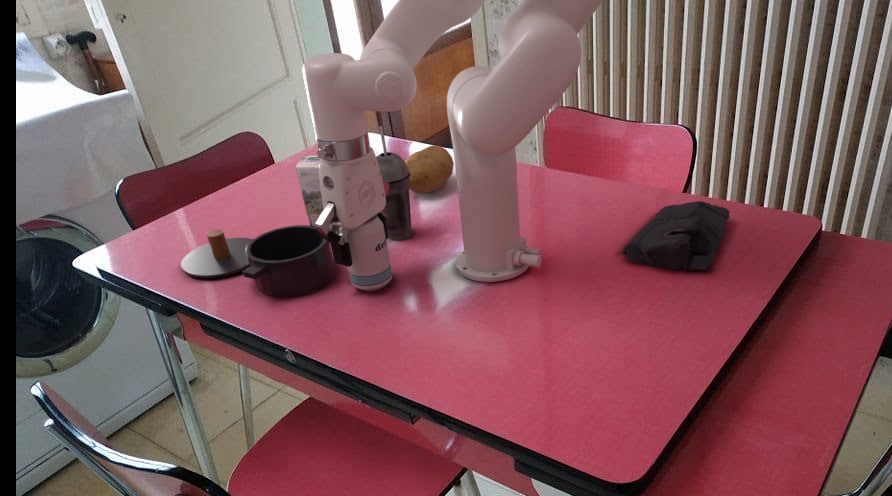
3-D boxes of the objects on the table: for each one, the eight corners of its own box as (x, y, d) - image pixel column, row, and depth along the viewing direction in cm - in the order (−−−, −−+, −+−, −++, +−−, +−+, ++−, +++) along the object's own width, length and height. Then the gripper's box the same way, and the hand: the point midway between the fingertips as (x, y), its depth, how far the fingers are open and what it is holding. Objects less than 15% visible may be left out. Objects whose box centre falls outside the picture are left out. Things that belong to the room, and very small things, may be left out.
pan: (360, 259, 122) (353, 225, 118) (289, 312, 109) (279, 276, 105) (302, 247, 128) (293, 214, 124) (228, 297, 115) (216, 261, 111)
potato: (390, 199, 143) (384, 162, 138) (427, 175, 152) (423, 139, 148) (429, 206, 139) (424, 168, 134) (465, 180, 148) (461, 144, 143)
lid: (281, 249, 127) (273, 222, 124) (224, 287, 117) (213, 258, 114) (224, 237, 133) (215, 211, 130) (165, 272, 123) (154, 244, 120)
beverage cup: (382, 246, 126) (362, 138, 114) (377, 230, 131) (358, 125, 119) (422, 239, 127) (406, 131, 115) (415, 223, 133) (399, 118, 121)
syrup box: (350, 226, 134) (334, 153, 125) (341, 240, 129) (325, 165, 120) (321, 226, 134) (304, 154, 126) (312, 240, 130) (293, 166, 121)
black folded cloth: (742, 222, 124) (746, 197, 121) (705, 278, 109) (709, 251, 106) (660, 208, 130) (662, 185, 128) (615, 260, 116) (616, 234, 113)
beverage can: (387, 294, 112) (375, 226, 104) (346, 294, 113) (331, 227, 105) (397, 273, 117) (386, 207, 110) (358, 273, 118) (344, 208, 111)
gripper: (326, 170, 93) (348, 280, 103) (398, 130, 106) (411, 232, 116) (284, 162, 96) (309, 270, 106) (358, 125, 108) (374, 225, 119)
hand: (362, 250), depth 111 cm, fingers open, 9 cm apart
